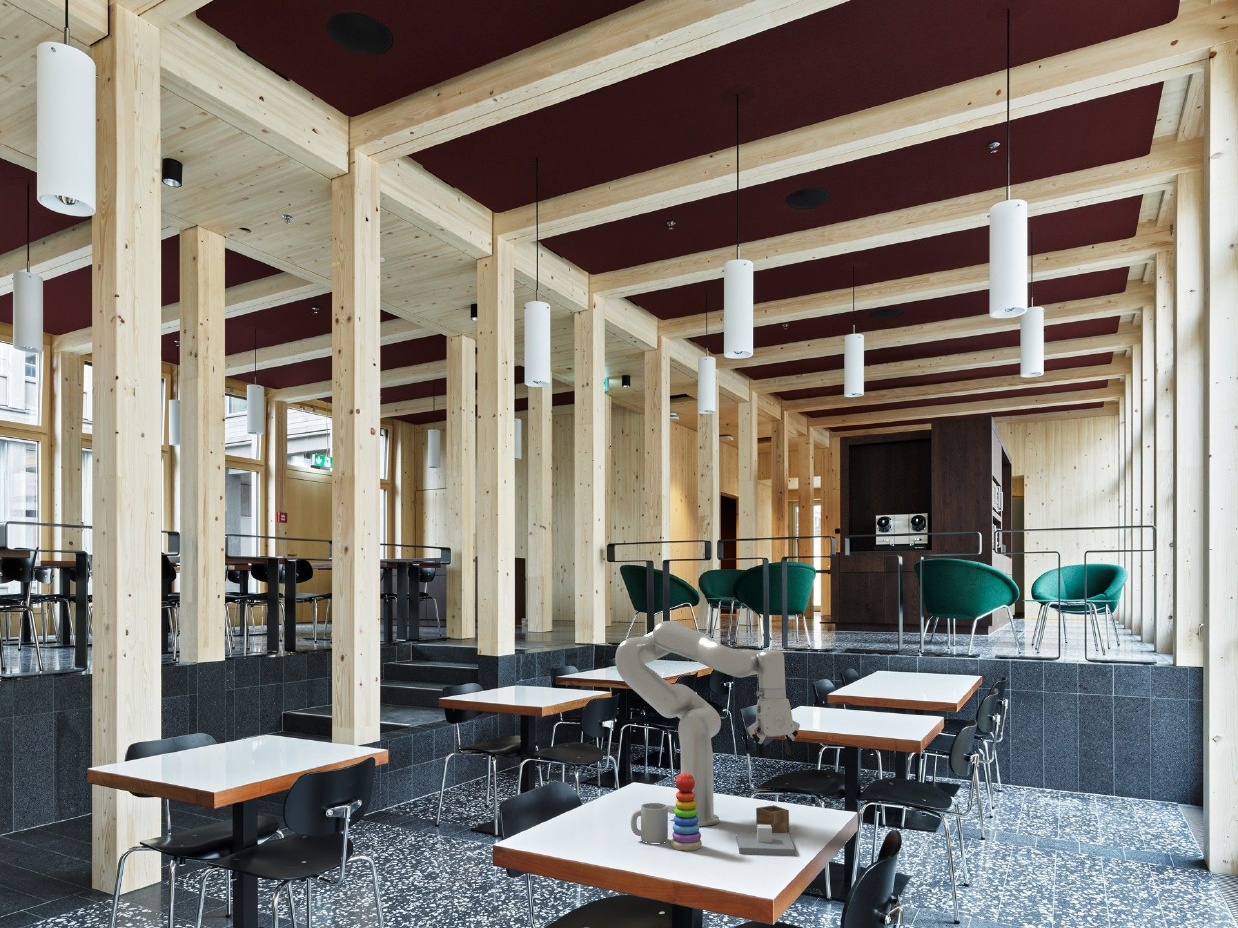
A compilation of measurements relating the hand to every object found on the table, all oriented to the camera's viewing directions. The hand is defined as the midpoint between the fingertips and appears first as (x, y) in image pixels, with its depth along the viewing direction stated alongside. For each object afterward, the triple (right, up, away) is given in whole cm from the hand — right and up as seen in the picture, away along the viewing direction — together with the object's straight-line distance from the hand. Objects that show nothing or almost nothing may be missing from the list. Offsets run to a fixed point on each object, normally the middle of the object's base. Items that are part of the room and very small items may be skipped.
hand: (775, 756), depth 246 cm
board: (-6, -17, -19) cm, 26 cm away
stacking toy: (-27, -17, -20) cm, 38 cm away
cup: (-36, -18, -14) cm, 43 cm away
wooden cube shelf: (-1, -20, -4) cm, 20 cm away
